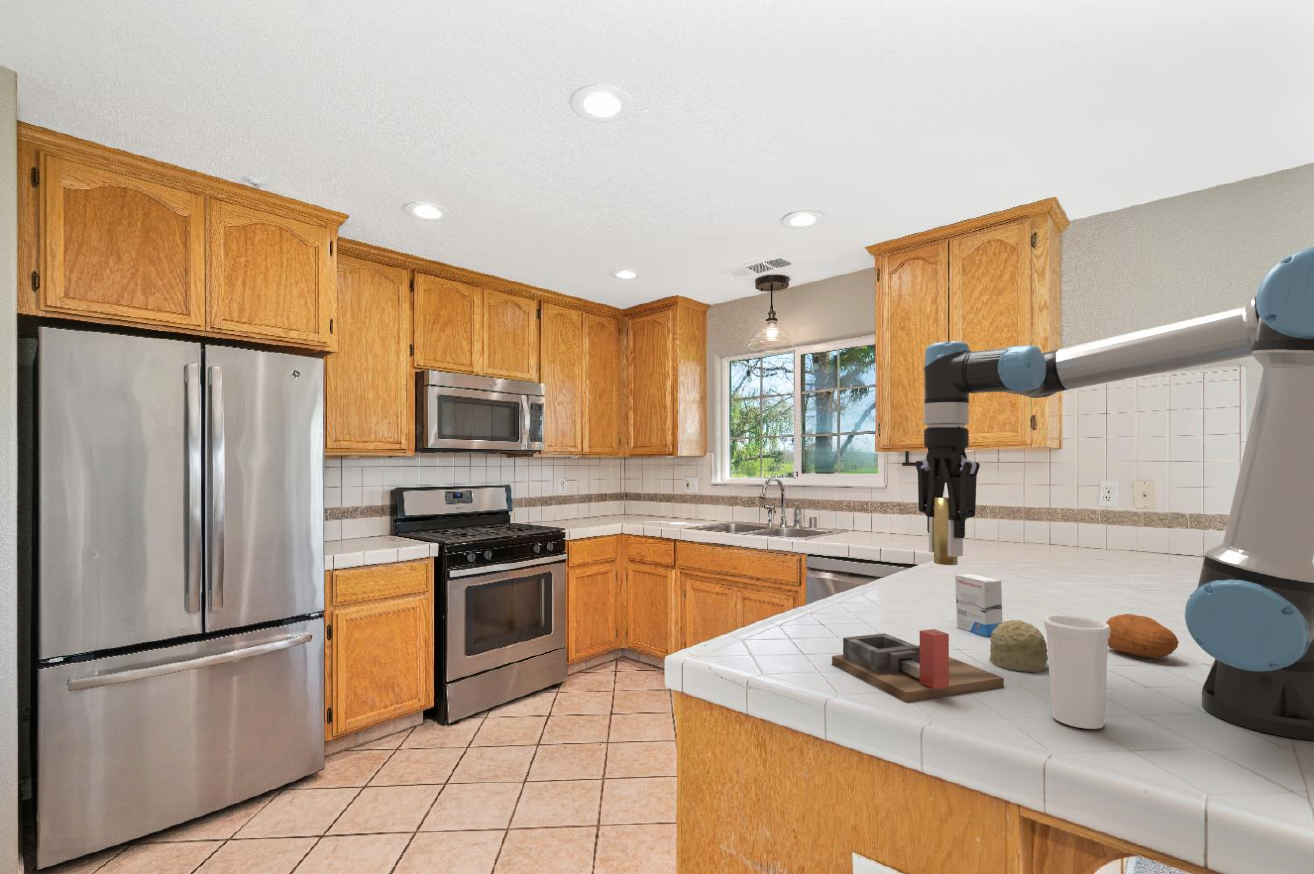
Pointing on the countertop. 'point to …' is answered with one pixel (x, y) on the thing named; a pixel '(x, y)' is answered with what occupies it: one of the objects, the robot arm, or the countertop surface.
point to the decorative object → (1018, 647)
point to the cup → (1077, 669)
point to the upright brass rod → (942, 532)
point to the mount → (880, 668)
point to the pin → (930, 660)
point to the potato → (1140, 636)
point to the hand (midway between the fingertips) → (945, 553)
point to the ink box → (978, 603)
